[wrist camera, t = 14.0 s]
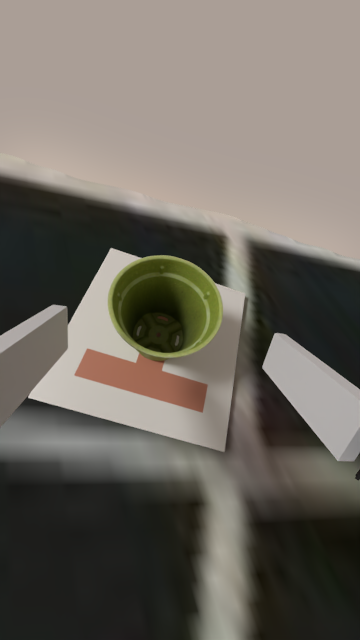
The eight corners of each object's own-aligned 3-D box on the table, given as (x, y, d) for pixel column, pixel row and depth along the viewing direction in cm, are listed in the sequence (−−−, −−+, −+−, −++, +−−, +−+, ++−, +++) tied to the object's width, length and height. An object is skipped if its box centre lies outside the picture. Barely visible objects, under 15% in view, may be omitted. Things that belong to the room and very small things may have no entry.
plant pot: (129, 293, 26) (126, 242, 18) (200, 310, 27) (227, 270, 19) (106, 365, 22) (88, 341, 14) (190, 383, 23) (218, 369, 15)
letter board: (242, 296, 30) (245, 293, 29) (220, 450, 21) (224, 452, 20) (111, 253, 29) (111, 247, 28) (32, 398, 20) (27, 397, 19)
